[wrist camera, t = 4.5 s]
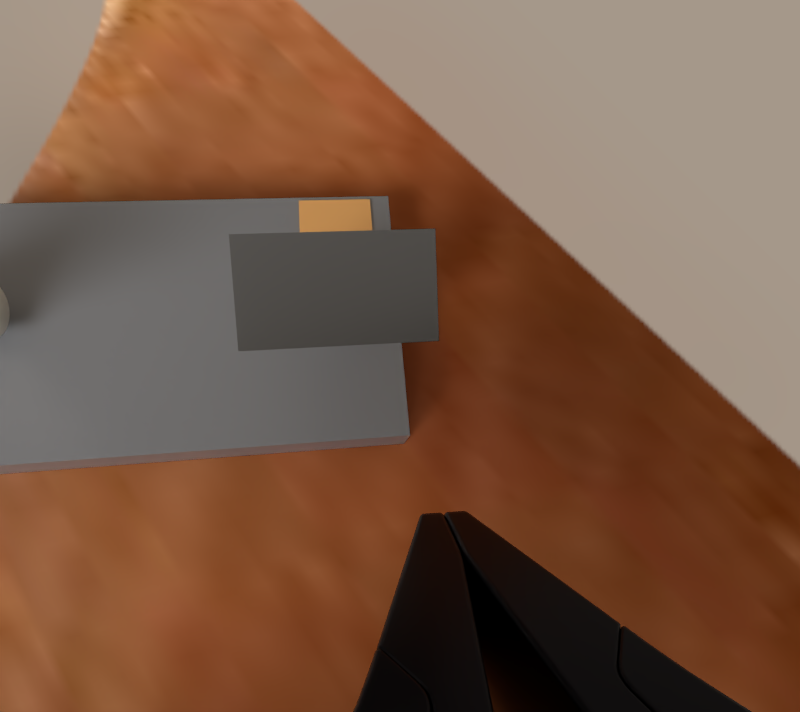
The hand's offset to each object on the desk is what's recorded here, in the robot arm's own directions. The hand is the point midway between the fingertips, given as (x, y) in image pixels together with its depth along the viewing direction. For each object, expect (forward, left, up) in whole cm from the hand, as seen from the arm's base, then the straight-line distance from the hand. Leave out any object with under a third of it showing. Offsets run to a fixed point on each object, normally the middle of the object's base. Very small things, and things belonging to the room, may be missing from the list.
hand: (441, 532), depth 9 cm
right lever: (+4, +6, -5) cm, 9 cm away
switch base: (0, +10, -9) cm, 13 cm away
